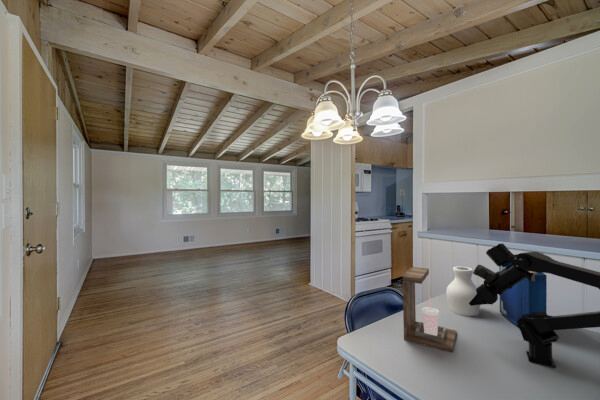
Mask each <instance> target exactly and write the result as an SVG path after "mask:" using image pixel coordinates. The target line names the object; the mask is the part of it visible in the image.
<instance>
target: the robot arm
mask: <svg viewBox="0 0 600 400" xmlns="http://www.w3.org/2000/svg"><path fill="white" fill-rule="evenodd" d="M485 254H486V255H487V257H489V259H490V260H491V261H492V262H493V263H494V264H495V266H497V267H499V266H502V267H506V266H507V267H506V268H505V269H503V270H502V271H499V270H498V271H496V272H495V271H493V270H491V269H489V268H487V267H485V266H484V265H482V264H477V265H476V266H475V268H474V269H473V274H472V275H475V276H477V277H479V278H482V279H483V283H482V284H480V285H478V286H477V289H476V292H477V294H476V295H475V297H474V298H473V299H472V300H471V301H470V302H469V304H470V305H471V306H473V305H480V306H482V305H491V306H492V305H493V304H494V303H496V302H497V301H498V299H499V297H500V295H501V294H502V293H503V292H505V291H506V290H508V289H511V288H512V287H513V286H514V285H516V284H517V283H519V282H520V281H522V280H523V279H525V278H527V279H528V280H529V281H535V273H530V272H529V271H532V272H542V273H544V274H551V275H552V276H553V275H554V276H557V277H561V278H563V279H567V280H571V281H574V282H577V283H580V284H583V285H586V286H590V287H594V288H597V289H599V290H600V271H597V270H592V269H589V268H585V267H581V266H577V265H575V264H574V265H573V264H570V263H567V262H562V261H558V260H555V259H554V258H552V257H551V256H549V255H546V254H543V253H542V252H539V251H535V250H534V251H527V252H520V253H516V254H514V253H512V251H510V249H509V248H508V247H507V246H506V245H505V244H504V243H497V245H494V246H493V247H491V248H489V249H488V250H486V251H485ZM508 265H509V266H508ZM521 316H522V317H521V318H519V319H518V321H517V325H518V326H517V328H518V329H519V331H520V334H521V336H522V337H521V338H523V341H525V342H527V343H528V350H526V351H525V353H526V357H527V359H528V362H530V363H534V364H537V365H541V366H546V367H550V368H552V369H553V368H554V369H556V368H557V365H556V362H555V360H554V359H553V358H554V357H553V343H556V342H558V340H559V338H560V337H559V335H558V334H557V333H556V332H555V331H562V330H576V329H591V328H592V329H593V328H594V329H595V328H600V310H598V311H597V310H596V311H589V312H588V311H587V312H581V313H580V312H579V313H569V314H561V315H548V314H547V310H546V311H542V312H538V313H537V312H532V313H528V314H523V315H521Z"/></svg>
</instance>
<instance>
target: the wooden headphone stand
mask: <svg viewBox="0 0 600 400" xmlns="http://www.w3.org/2000/svg"><path fill="white" fill-rule="evenodd" d="M429 271H430V268H424V267H416V266H411V267H410V268H409V269H408V270H407V271H406V272H405V273H404V274H403V275H402V305H403V306H402V309H403V314H402V315H403V340H405V341H408V342H412V343H416V344H419V345H422V346H427V347H431V348H434V347H435V349H439V350H442V351H445V350H446V352H450V353H454V347H455V342H456V337H457V330H455V329H451V328H448V327H444V326H439V325H438V333H437V336H435V335H431V334H427V333H424V324H423V321H422V322H421V321H416V320H417V318H416V284H418V285H419V284H420V285H422V284H423V282H424V281H425V280H426V278H427V277H428V275H429V274H430V273H429Z"/></svg>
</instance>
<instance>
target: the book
mask: <svg viewBox="0 0 600 400" xmlns="http://www.w3.org/2000/svg"><path fill="white" fill-rule="evenodd" d="M508 266H509V265H508ZM506 267H507V266H506ZM506 267H502V266H498V268H499V270H498V271H502V270H503V269H505V268H506ZM529 272H530V273H535V281H529V280H528V279H527V278H525V279H523V280H522V281H520V282H519V283H517V284H516V285H514V286H513V287H512V288H511V289H508V290H506V291H505V292H503V293H502V294H501V295H500V296H499V312H500V314H501V315H502V316H503V317H505V318H506V319H507V320H508V321H509V322H511V323H512V324H514V325H515V326H517V327H518V325H517V321H518V319H519V318H521V317H522V316H521V315H523V314H528V313H532V312H537V313H538V312H542V311H546V312H547V294H548V293H547V285H548V284H547V281H548V280H547V275H546V273H542V272H532V271H529Z"/></svg>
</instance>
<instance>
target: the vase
mask: <svg viewBox="0 0 600 400" xmlns="http://www.w3.org/2000/svg"><path fill="white" fill-rule="evenodd" d="M452 270H453V273H454V279H453V280H452V281H451V282H450V283H449V284H448V285H447V287H446V290H445V292H446V299H447V303H448V307H449V310H450V312H452V313H454V314H457V315H460V316H466V317H477V316H478V315H479V314H480V308H481V305H473V306H471V305H470V304H469V302H470V301H471V300H472V299H473V298H474V297H475V295H476V294H477V292H476V289H477V288H478V286H477V285H476V284H475V283H474V282H473V280H472V276H473V275H474V274H473V272H474V269H473V268H471V267H467V266H462V265H461V266H460V265H459V266H457V265H456V266H453V267H452Z"/></svg>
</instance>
